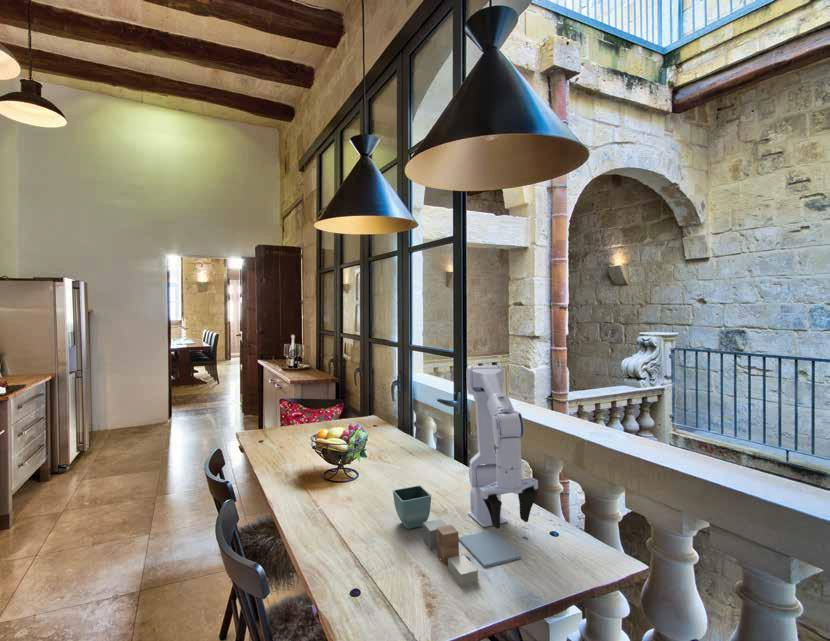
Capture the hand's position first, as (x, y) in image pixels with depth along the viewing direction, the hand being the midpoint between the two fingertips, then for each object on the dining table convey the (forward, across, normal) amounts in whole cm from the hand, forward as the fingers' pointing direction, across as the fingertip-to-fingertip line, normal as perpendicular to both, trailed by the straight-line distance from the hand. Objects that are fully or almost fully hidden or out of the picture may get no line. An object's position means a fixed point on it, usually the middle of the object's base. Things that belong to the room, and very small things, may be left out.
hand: (510, 523), depth 104 cm
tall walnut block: (+10, -12, +9) cm, 18 cm away
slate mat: (+10, -1, +9) cm, 13 cm away
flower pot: (+10, -14, +29) cm, 34 cm away
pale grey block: (+10, -12, +1) cm, 16 cm away
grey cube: (+10, -12, +16) cm, 23 cm away
